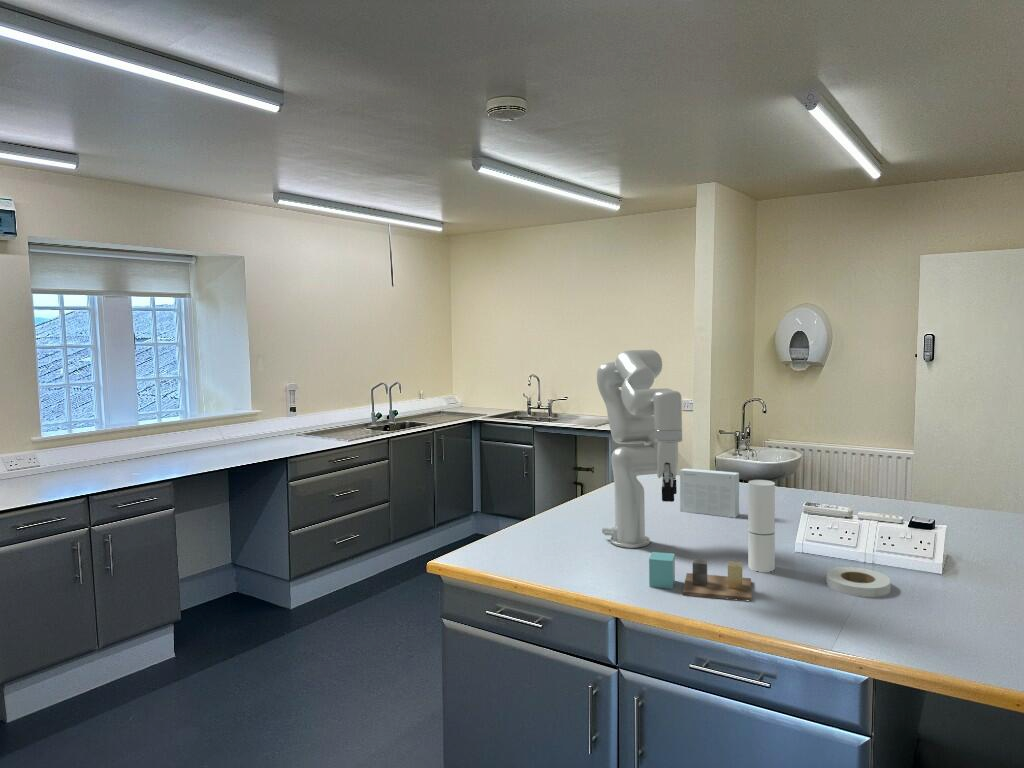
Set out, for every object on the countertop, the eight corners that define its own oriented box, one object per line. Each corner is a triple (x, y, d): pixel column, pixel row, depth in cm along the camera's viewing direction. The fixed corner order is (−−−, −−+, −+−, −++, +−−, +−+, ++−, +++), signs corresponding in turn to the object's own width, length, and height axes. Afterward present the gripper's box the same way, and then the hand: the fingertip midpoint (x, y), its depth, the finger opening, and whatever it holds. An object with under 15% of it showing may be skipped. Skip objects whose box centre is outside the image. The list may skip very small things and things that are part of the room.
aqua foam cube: (649, 586, 188) (649, 559, 188) (652, 578, 194) (651, 551, 194) (672, 588, 187) (672, 560, 186) (674, 580, 192) (674, 553, 192)
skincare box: (739, 514, 256) (739, 472, 255) (735, 518, 252) (735, 475, 250) (684, 508, 267) (683, 467, 266) (679, 511, 263) (678, 470, 262)
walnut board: (682, 595, 182) (682, 569, 181) (686, 576, 195) (686, 552, 195) (751, 601, 177) (751, 574, 176) (750, 581, 190) (750, 556, 189)
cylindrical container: (774, 565, 202) (774, 480, 200) (774, 573, 196) (775, 486, 194) (748, 562, 205) (748, 479, 203) (748, 571, 198) (748, 484, 196)
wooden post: (727, 588, 183) (727, 565, 183) (728, 583, 187) (728, 561, 186) (742, 589, 182) (742, 567, 182) (742, 584, 186) (742, 562, 185)
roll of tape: (888, 602, 175) (888, 591, 174) (822, 591, 183) (822, 581, 182) (892, 582, 188) (892, 572, 187) (830, 573, 196) (830, 563, 195)
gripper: (657, 431, 200) (658, 490, 201) (651, 439, 184) (652, 504, 185) (683, 431, 198) (685, 491, 199) (680, 440, 182) (681, 504, 182)
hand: (669, 497), depth 192 cm, fingers open, 9 cm apart
